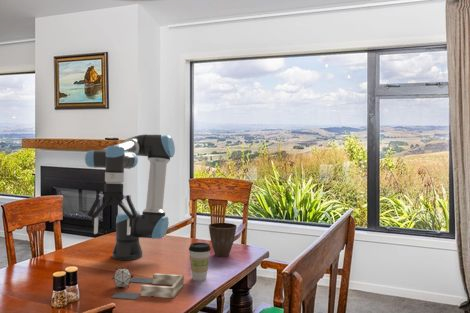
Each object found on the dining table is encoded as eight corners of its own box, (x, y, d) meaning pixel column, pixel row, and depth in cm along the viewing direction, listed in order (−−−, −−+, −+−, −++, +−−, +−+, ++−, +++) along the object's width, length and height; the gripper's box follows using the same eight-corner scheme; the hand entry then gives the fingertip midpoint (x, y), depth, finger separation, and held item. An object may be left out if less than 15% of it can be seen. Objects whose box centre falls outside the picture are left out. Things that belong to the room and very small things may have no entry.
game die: (124, 297, 172) (125, 283, 166) (106, 288, 174) (107, 274, 168) (136, 281, 179) (137, 267, 173) (119, 272, 181) (120, 258, 175)
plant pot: (216, 249, 235) (216, 221, 234) (240, 253, 229) (241, 224, 228) (203, 256, 221) (203, 226, 221) (228, 260, 215) (229, 229, 214)
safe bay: (141, 295, 165) (141, 285, 165) (153, 282, 180) (153, 273, 180) (173, 298, 163) (173, 288, 163) (183, 284, 178) (183, 275, 178)
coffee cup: (201, 283, 180) (202, 249, 179) (183, 279, 185) (184, 245, 185) (214, 277, 188) (215, 244, 188) (197, 273, 194) (197, 241, 193)
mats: (111, 298, 162) (111, 297, 162) (134, 277, 186) (134, 277, 186) (135, 299, 161) (135, 299, 161) (155, 279, 184) (155, 278, 184)
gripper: (80, 182, 170) (78, 234, 170) (142, 184, 170) (140, 236, 170) (87, 181, 178) (85, 231, 177) (146, 183, 178) (144, 233, 177)
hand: (112, 234), depth 174 cm, fingers open, 13 cm apart
